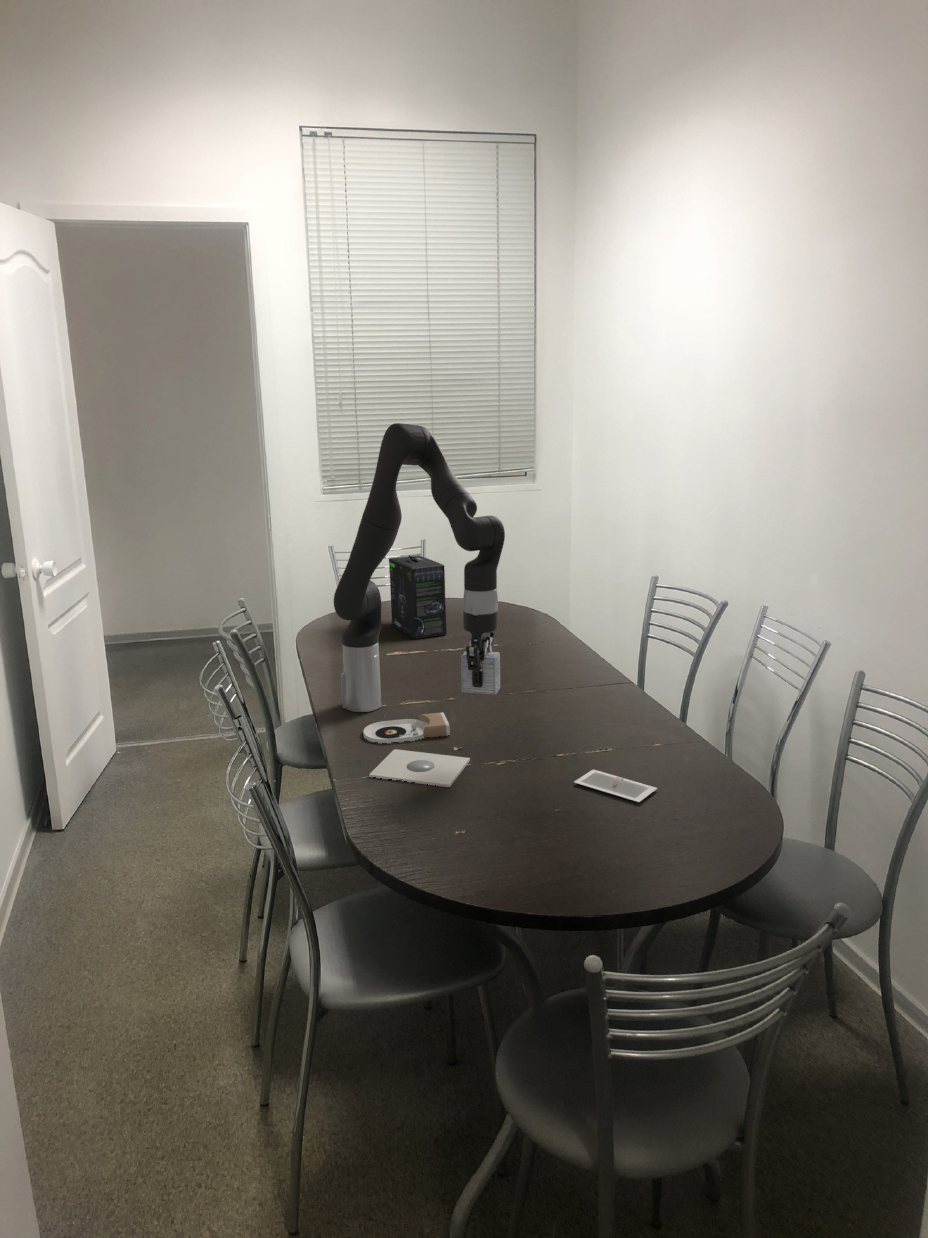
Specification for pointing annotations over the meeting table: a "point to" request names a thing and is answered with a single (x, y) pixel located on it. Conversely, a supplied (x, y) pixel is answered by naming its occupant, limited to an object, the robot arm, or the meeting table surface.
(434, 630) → the headset box
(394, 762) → the white pad
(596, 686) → the meeting table surface
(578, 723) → the meeting table surface
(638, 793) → the touchpad
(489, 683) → the medicine box
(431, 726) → the record player
